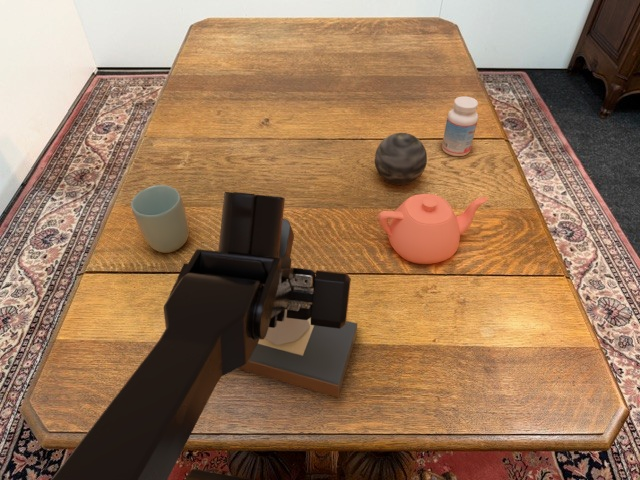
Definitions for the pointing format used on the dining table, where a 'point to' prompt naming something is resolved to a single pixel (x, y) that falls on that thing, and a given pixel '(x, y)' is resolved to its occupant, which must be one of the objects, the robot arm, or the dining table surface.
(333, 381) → the grey and beige box
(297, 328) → the octagonal bud vase
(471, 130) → the pill bottle
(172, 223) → the cup
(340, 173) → the dining table surface
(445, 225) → the teapot
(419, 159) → the decorative stone
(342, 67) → the dining table surface
